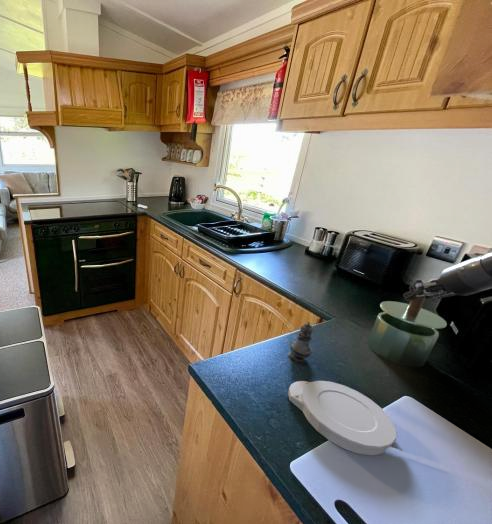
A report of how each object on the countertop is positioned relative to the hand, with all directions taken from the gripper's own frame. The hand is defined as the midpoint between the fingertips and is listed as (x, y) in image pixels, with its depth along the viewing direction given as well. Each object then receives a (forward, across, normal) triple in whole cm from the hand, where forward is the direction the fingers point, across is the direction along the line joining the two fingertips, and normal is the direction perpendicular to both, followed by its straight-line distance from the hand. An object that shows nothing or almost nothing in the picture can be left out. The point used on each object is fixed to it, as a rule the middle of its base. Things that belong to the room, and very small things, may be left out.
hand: (411, 297), depth 84 cm
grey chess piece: (+8, -32, -18) cm, 38 cm away
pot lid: (+2, 0, -5) cm, 5 cm away
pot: (+11, 0, -14) cm, 18 cm away
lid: (-6, -34, -32) cm, 47 cm away
